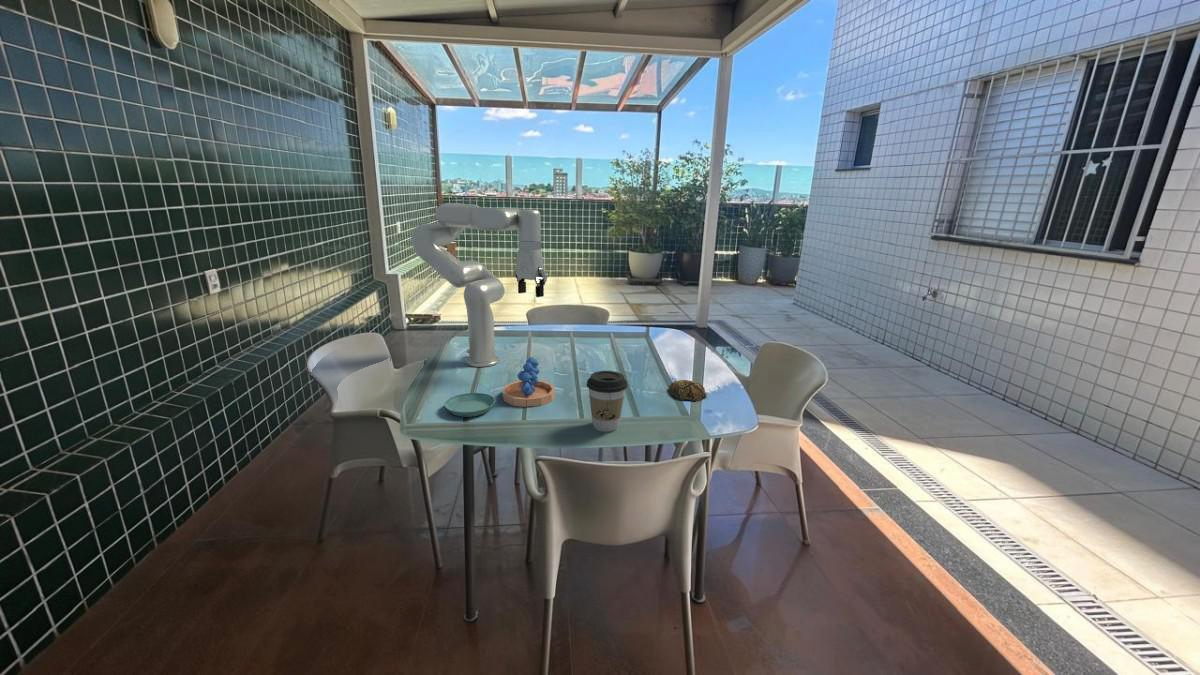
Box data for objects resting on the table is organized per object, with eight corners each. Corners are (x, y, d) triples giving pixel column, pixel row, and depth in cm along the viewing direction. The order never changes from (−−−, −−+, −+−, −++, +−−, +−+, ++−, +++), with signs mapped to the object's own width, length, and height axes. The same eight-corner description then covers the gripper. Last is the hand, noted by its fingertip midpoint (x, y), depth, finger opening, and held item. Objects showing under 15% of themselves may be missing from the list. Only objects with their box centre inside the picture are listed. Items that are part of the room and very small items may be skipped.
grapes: (524, 386, 162) (523, 351, 159) (543, 388, 161) (543, 353, 158) (510, 399, 151) (509, 362, 148) (531, 401, 150) (530, 364, 147)
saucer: (505, 405, 149) (505, 397, 149) (475, 424, 136) (474, 415, 135) (466, 397, 155) (466, 389, 154) (434, 414, 142) (433, 406, 141)
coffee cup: (586, 435, 131) (587, 383, 127) (585, 417, 142) (586, 369, 138) (628, 435, 131) (630, 383, 127) (624, 417, 142) (625, 369, 138)
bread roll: (666, 387, 167) (667, 373, 166) (702, 388, 167) (703, 374, 166) (672, 402, 155) (673, 387, 153) (711, 403, 155) (712, 388, 153)
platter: (492, 396, 155) (492, 388, 155) (532, 383, 167) (532, 376, 166) (525, 411, 145) (525, 403, 144) (565, 396, 156) (565, 389, 156)
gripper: (505, 244, 171) (507, 292, 176) (537, 248, 160) (538, 299, 164) (522, 243, 176) (523, 290, 181) (554, 247, 165) (555, 297, 170)
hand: (530, 294), depth 173 cm, fingers open, 9 cm apart
